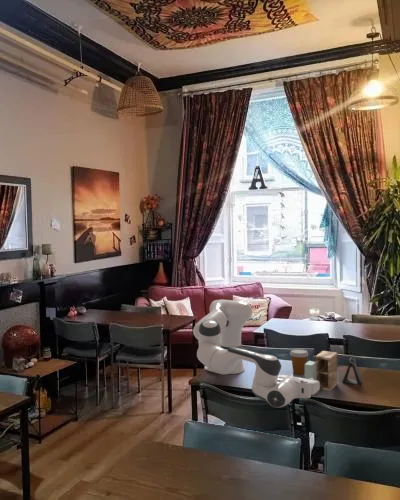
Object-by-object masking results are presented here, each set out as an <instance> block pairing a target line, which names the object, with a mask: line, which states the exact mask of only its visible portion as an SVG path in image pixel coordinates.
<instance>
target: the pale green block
mask: <svg viewBox="0 0 400 500" xmlns="http://www.w3.org/2000/svg"><path fill="white" fill-rule="evenodd" d="M304 378H305V379H310V378H314V380H316V381H317V372H316V362H314V361H313V360H308V361H307V363H306V364H305V374H304Z"/></svg>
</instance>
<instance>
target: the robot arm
mask: <svg viewBox="0 0 400 500" xmlns="http://www.w3.org/2000/svg"><path fill="white" fill-rule="evenodd" d="M252 316H253V307H252V306H251V304H249V303H248V302H245V301H241V300H233V299H215V300H213V301H212V302H211V303H210V305H209V313H208V314H206V315H205V316H203V317H202V318H201V319H200V320H199V321H198V322H197V323H196V324H195V325H194V327H193V329H192V330H193V333H192V334H193V337H195V338H196V339H197V341H198V348H197V351H196V357H197V359H198V360H199V362H200V363H202V364H203V366H204V370H205V371H208V372H212V373H215V374H219V375H223V376H224V375H232V374H233V375H235V374H240V373H243V372H244V371H245V367H244V365H243V364H244V363H243V362H244V361H246V362H250V363H252V364H255V371H254V377H253V379H252V385H251V391H252V393H253V394H254V395H255V397H256V398H257V399H258V400H260V401H263V402H266V403H268V404H269V405H270V406H271V407H273V408H275V409H276V408H279V409H280V408H283V407H285V406H287V405H288V404H290V403H291V402H292V401H293V400H294V399H310V398H311V396H313V394H315V393H316V392H318V391H319V389H320V382H319V381H316V380H314V378H310V379H305V377H299V376H295V374H281V373H280V372H281V369H282V363H281V362H280V360H279V358H278V357H276V356H274V355H272V354H267V353H266V354H265V353H260V352H257V351H253V350H250V349H247V348H244V347H243V345H242V331H243V328H244V325H245V324H246V323H247V322H248V321H249V320H250V319H252Z"/></svg>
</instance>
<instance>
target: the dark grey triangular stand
mask: <svg viewBox="0 0 400 500" xmlns="http://www.w3.org/2000/svg"><path fill="white" fill-rule="evenodd" d="M351 368H352V370H353V373H354V376H355V379H351V378H349V373H350V370H351ZM362 382H363V379H362V376H361V374H360V371H359V368H358V366H357V362H356V357H353V358H352V356H351V357H350V358H349V360H348V366H347V369H346V371H345V373H344V376H343V379H342V383H343V384H350V385H359V386H362Z"/></svg>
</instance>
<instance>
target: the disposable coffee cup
mask: <svg viewBox="0 0 400 500" xmlns="http://www.w3.org/2000/svg"><path fill="white" fill-rule="evenodd" d="M289 354H290V358H291V364H292V373H293V375H297V376H299V375H300V376H302V375H303V376H304V375H305V364H306V363H307V362H308V361H307V360H308V356H309V353H308V350H307V349H302V348H295V349H291V350H290V353H289Z"/></svg>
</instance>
